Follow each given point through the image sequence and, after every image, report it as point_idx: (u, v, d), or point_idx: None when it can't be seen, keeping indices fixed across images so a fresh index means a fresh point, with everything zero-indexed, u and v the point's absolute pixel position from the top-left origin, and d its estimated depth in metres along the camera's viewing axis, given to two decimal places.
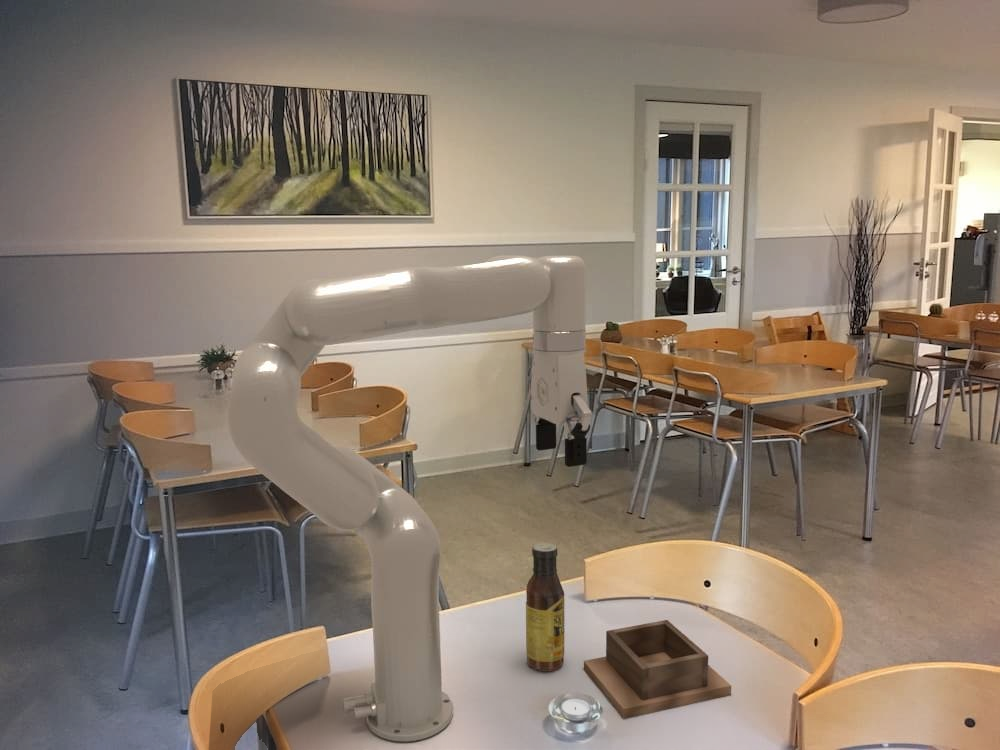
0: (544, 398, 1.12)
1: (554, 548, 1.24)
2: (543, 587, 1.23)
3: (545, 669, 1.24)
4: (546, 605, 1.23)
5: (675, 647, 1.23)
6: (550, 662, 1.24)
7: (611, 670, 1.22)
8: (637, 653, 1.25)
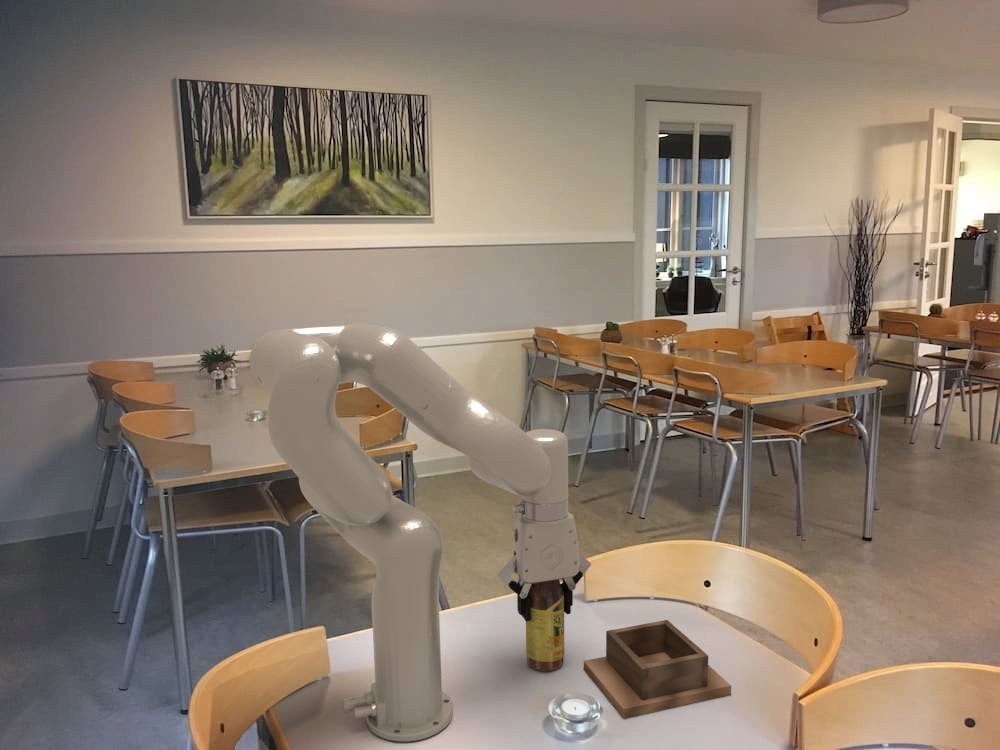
0: (554, 561, 1.22)
1: None
2: (542, 587, 1.23)
3: (545, 669, 1.24)
4: (546, 605, 1.23)
5: (675, 647, 1.23)
6: (550, 662, 1.24)
7: (611, 670, 1.22)
8: (637, 653, 1.25)
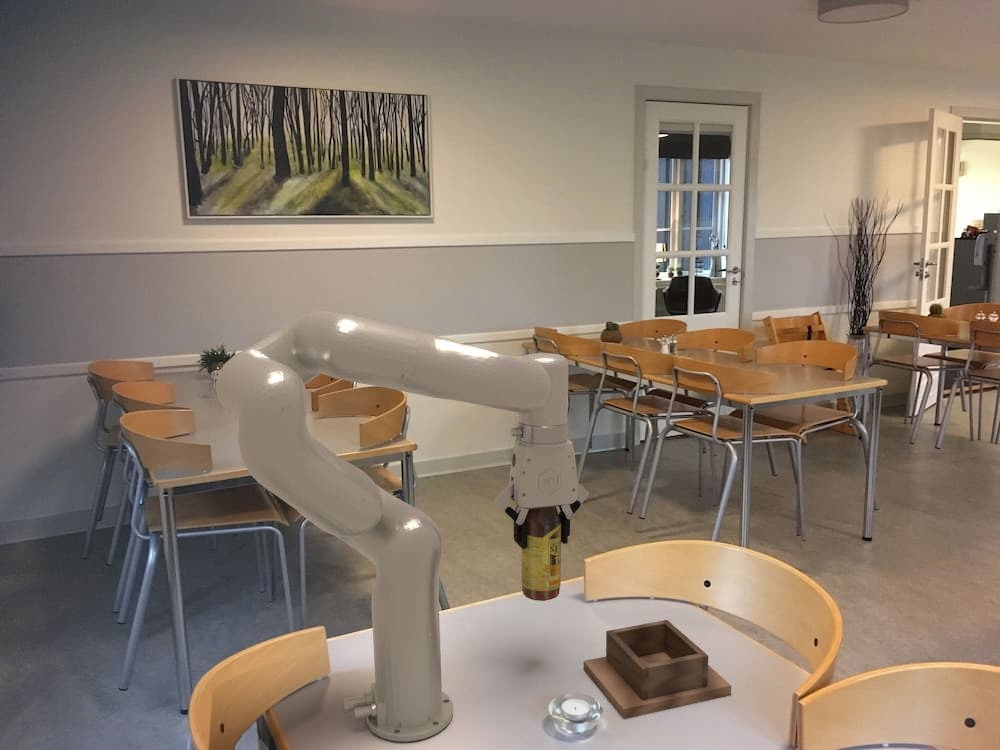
0: (552, 487, 1.20)
1: None
2: (539, 514, 1.21)
3: (540, 598, 1.22)
4: (543, 532, 1.20)
5: (675, 647, 1.23)
6: (546, 591, 1.22)
7: (611, 670, 1.22)
8: (637, 653, 1.25)
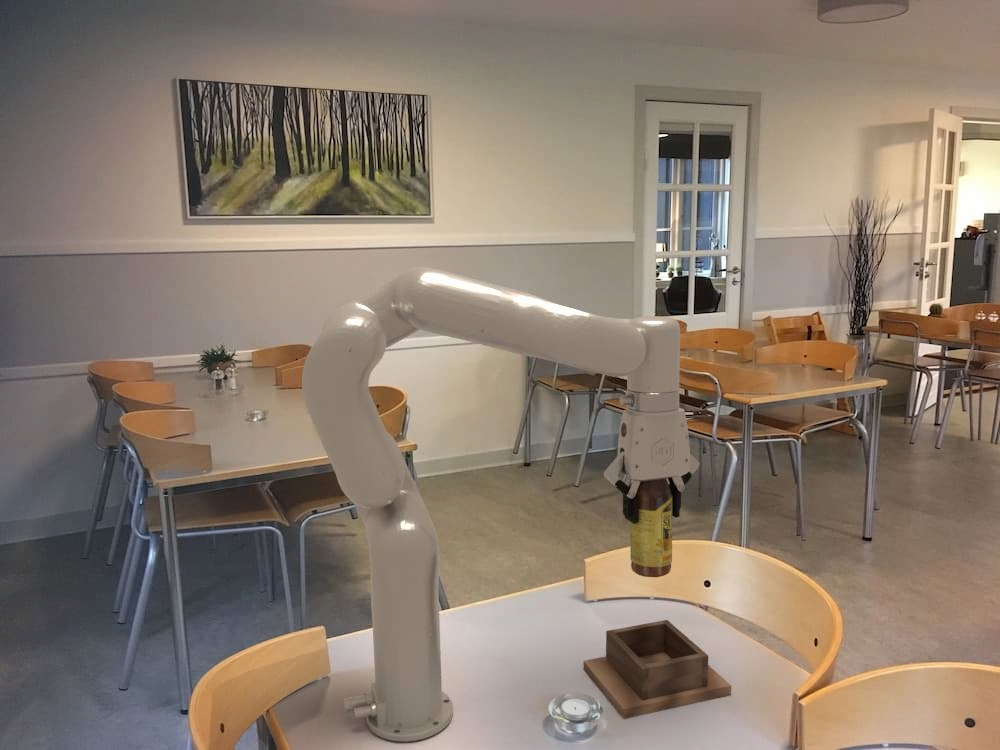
0: (665, 457, 1.13)
1: None
2: (651, 486, 1.14)
3: (654, 575, 1.15)
4: (656, 505, 1.14)
5: (675, 647, 1.23)
6: (659, 567, 1.15)
7: (611, 670, 1.22)
8: (637, 653, 1.25)
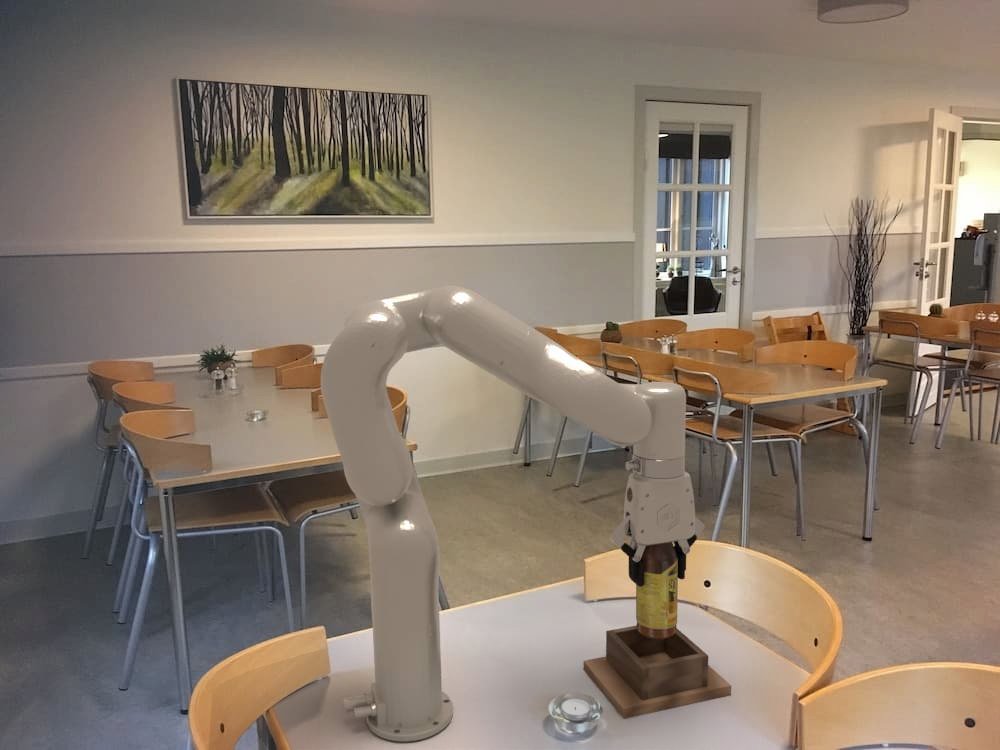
0: (670, 522, 1.14)
1: None
2: (657, 550, 1.15)
3: (659, 637, 1.17)
4: (661, 568, 1.15)
5: (675, 647, 1.23)
6: (664, 629, 1.17)
7: (611, 670, 1.22)
8: (637, 653, 1.25)
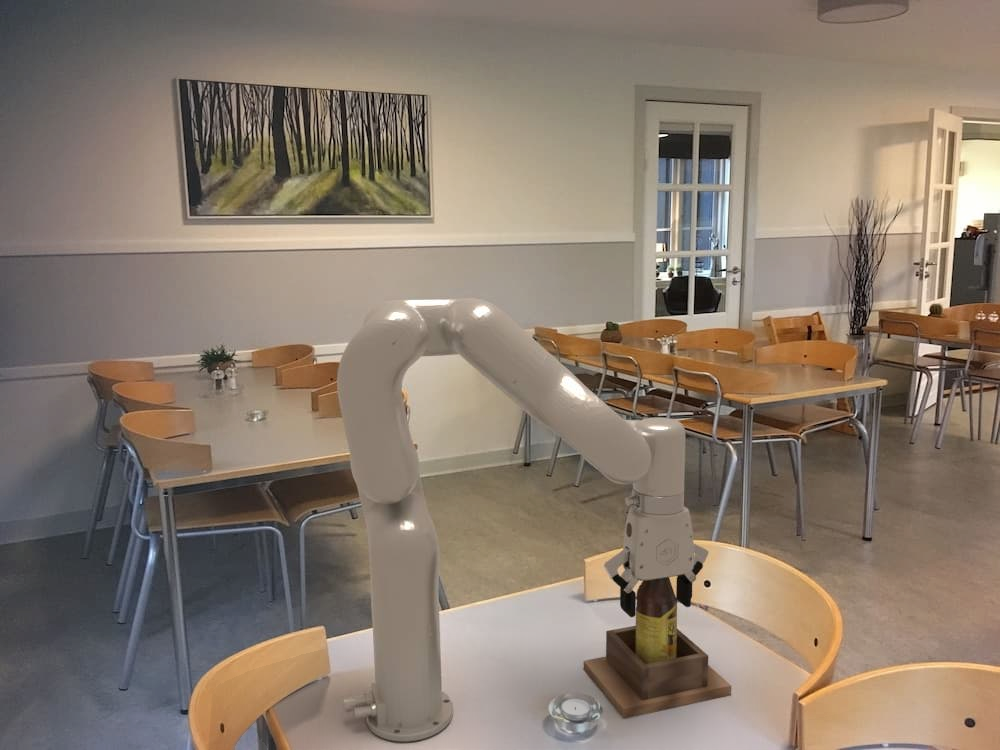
0: (669, 557, 1.15)
1: None
2: (657, 593, 1.17)
3: None
4: (661, 612, 1.16)
5: None
6: None
7: (611, 670, 1.22)
8: None
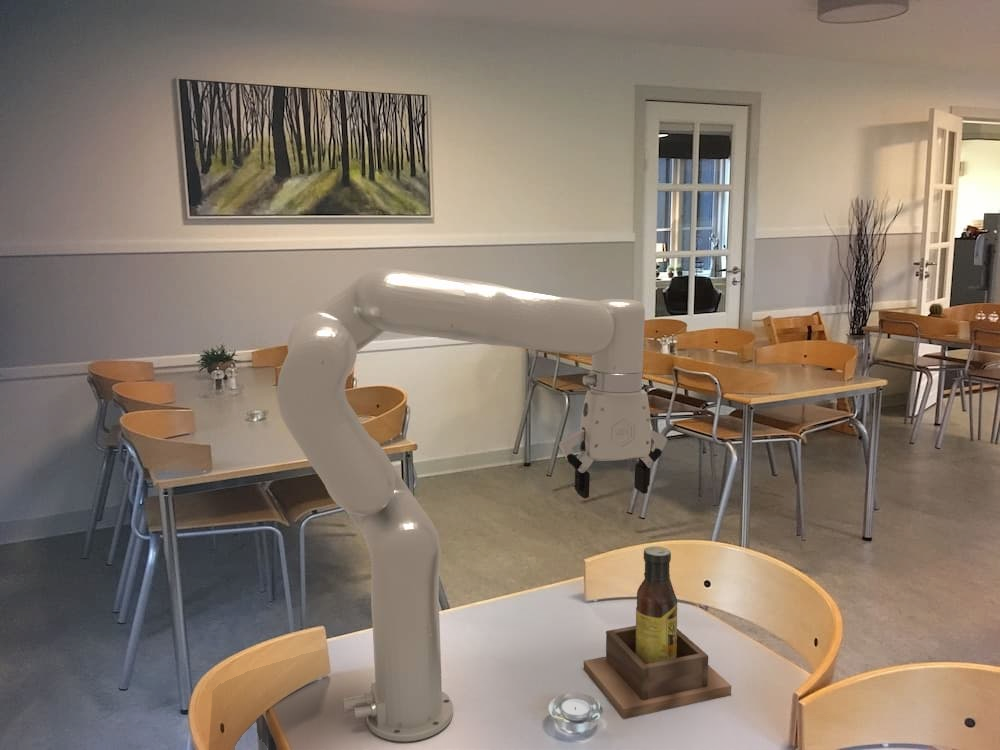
0: (625, 438, 1.14)
1: (668, 552, 1.18)
2: (657, 593, 1.17)
3: None
4: (661, 612, 1.16)
5: None
6: None
7: (611, 670, 1.22)
8: None
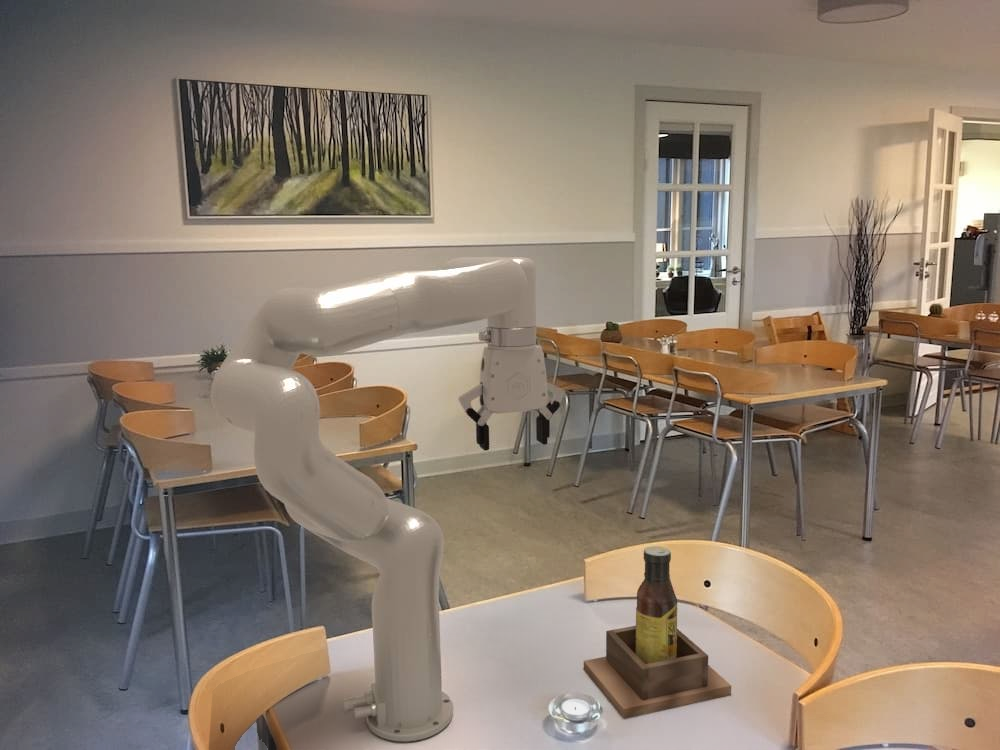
0: (521, 391, 1.19)
1: (668, 552, 1.18)
2: (657, 593, 1.17)
3: None
4: (661, 612, 1.16)
5: None
6: None
7: (611, 670, 1.22)
8: None
